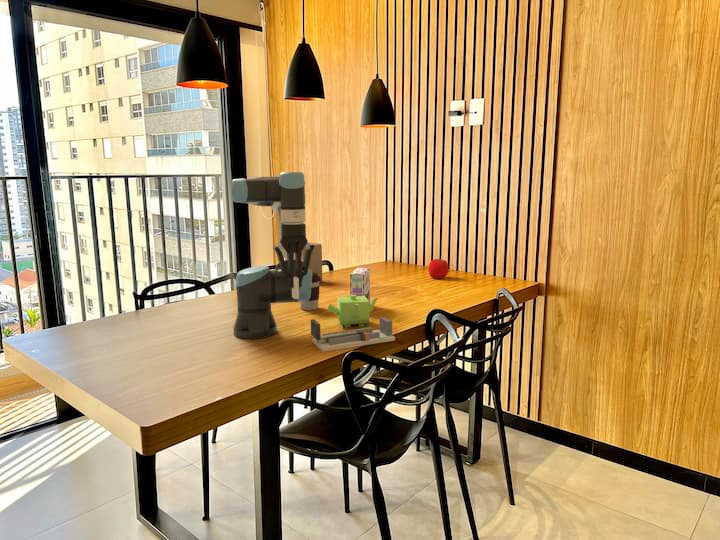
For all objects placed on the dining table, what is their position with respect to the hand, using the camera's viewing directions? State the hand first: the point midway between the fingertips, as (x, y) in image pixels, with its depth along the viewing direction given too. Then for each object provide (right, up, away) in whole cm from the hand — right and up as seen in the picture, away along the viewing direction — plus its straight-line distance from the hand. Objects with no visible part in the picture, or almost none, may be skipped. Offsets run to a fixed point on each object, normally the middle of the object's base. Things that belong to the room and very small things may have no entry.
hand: (295, 297), depth 163 cm
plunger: (+13, -15, +8) cm, 21 cm away
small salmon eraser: (+22, -14, +8) cm, 28 cm away
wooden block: (-6, +2, +105) cm, 105 cm away
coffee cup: (-1, -8, +54) cm, 54 cm away
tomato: (+62, +4, +112) cm, 129 cm away
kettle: (+18, -12, +31) cm, 38 cm away
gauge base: (+18, -15, +11) cm, 27 cm away
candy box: (+21, -8, +52) cm, 57 cm away
